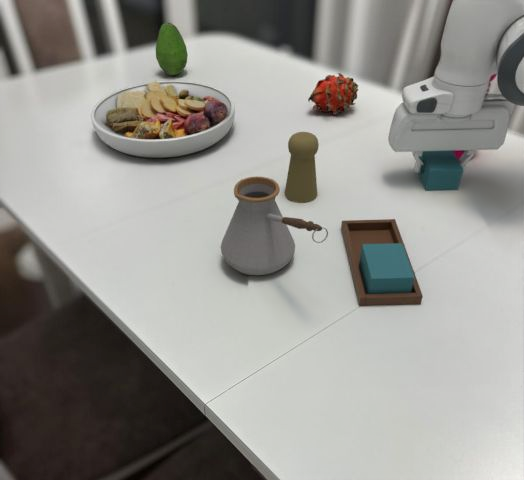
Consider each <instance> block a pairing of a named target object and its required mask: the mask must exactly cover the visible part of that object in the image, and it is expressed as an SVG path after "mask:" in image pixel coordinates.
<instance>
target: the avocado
mask: <svg viewBox="0 0 524 480" xmlns="http://www.w3.org/2000/svg"><path fill="white" fill-rule="evenodd" d="M187 49H188V48H187V45H186V43H185V40H184V38H183V36H182V34H181V31H180V30H179V29H178V27H177V26H176V25H175V24H173V23H172V22H169V21H166V22H164V23H163V24H161V26H160V28H159V30H158V34H157V39H156V44H155V59H156V61H157V63H158V66H159V68H161V70H162V71H163V72H164V73H165V74H166V75H169V76H178V75H180V74H181V73H182V72H183V71H184V69H185V68H186V67H187V64H188V58H189V57H188V50H187Z"/></svg>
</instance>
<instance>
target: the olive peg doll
mask: <svg viewBox="0 0 524 480" xmlns="http://www.w3.org/2000/svg"><path fill="white" fill-rule="evenodd" d="M287 148H288V153H289V154H290V158H289V164H288V170H287V176H286V182H285V187H284V197H285V198H286V199H287V200H289V201H290V202H293V203H297V204H304V203H310V202H313V201H314V200H316V199H317V197H318V184H317V183H318V182H317V171H316V169H317V167H316V154H317V153H318V151H319V140H318V137H317V136H316V134H313V133H311V132H309V131H299V132H298V131H297V132H295V133H293V134H292V135H291V136H290V137H289V139H288V142H287Z"/></svg>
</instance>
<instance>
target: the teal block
mask: <svg viewBox="0 0 524 480" xmlns="http://www.w3.org/2000/svg"><path fill="white" fill-rule="evenodd" d="M404 246H405V245H404ZM404 246H403V244H402V243H393V244H362V249H361V255H360V262H359V268H360V272H361V276H362V280H363V284H364V288H365V292H366V294H393V293H411V290H412V286H413V282H414V278H415V277H414V274H413V271H412V269H411V266H410V263H409V260H408V258H407V255H406V252H405V249H404Z"/></svg>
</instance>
